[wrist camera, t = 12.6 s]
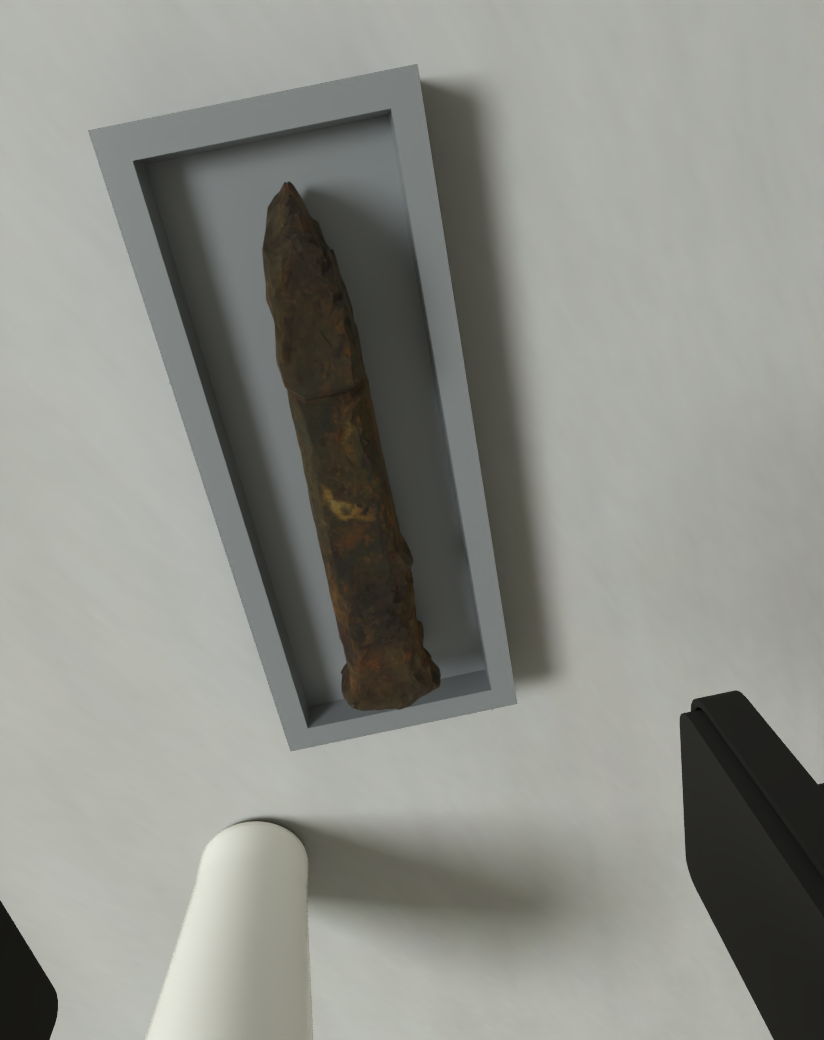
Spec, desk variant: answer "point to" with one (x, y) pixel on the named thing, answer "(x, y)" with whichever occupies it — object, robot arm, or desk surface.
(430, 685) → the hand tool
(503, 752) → the desk surface
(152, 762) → the desk surface
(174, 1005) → the white tumbler
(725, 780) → the robot arm
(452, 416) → the tray
